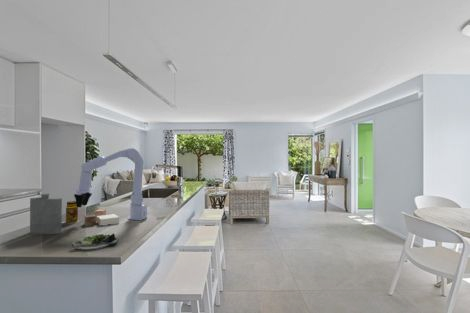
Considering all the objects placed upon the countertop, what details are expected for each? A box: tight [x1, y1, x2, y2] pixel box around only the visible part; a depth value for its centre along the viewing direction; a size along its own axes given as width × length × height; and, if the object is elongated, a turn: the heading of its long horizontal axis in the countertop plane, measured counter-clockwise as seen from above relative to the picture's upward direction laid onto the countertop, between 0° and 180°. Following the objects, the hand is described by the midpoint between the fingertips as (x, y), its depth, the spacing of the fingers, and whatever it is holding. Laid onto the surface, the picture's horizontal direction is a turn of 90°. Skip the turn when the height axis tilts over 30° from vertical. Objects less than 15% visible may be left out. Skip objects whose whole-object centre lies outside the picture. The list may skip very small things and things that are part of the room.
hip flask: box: [29, 193, 63, 235], centre depth 144 cm, size 16×4×20 cm, turn 87°
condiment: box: [62, 200, 82, 224], centre depth 167 cm, size 7×8×12 cm
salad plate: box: [69, 233, 119, 251], centre depth 127 cm, size 19×18×5 cm
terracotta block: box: [94, 208, 107, 220], centre depth 178 cm, size 5×5×5 cm
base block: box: [96, 213, 120, 227], centre depth 166 cm, size 10×10×4 cm
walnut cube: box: [84, 214, 97, 227], centre depth 162 cm, size 5×5×5 cm
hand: (81, 206), depth 162 cm, fingers open, 7 cm apart
